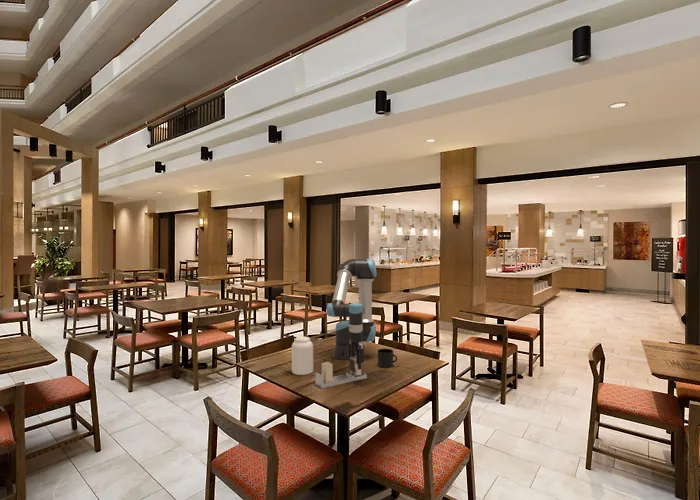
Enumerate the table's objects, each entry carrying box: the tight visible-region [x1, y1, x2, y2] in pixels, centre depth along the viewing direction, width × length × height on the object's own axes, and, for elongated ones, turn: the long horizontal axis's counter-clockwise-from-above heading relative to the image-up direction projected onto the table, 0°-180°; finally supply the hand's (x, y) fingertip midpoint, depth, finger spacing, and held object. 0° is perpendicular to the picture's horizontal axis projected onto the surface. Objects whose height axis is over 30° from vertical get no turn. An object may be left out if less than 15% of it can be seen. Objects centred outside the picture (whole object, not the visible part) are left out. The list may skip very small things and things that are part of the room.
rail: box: [315, 361, 368, 389], centre depth 202 cm, size 7×28×11 cm, turn 121°
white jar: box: [291, 336, 314, 376], centre depth 217 cm, size 12×12×20 cm
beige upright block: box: [349, 356, 357, 376], centre depth 207 cm, size 5×5×9 cm
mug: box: [377, 348, 398, 369], centre depth 228 cm, size 9×12×9 cm
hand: (355, 373), depth 207 cm, fingers closed on beige upright block, 5 cm apart
